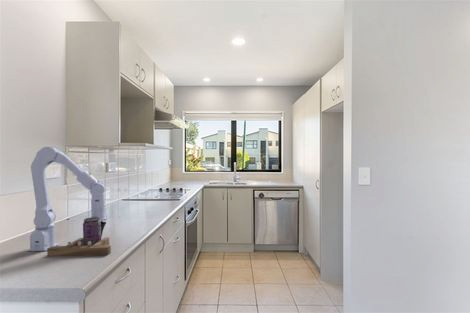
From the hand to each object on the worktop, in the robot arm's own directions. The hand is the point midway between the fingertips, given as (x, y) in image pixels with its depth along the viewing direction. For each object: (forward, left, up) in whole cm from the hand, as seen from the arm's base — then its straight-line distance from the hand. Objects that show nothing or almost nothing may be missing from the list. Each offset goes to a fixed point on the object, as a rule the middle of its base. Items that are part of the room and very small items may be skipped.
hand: (98, 238), depth 135 cm
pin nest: (-11, 0, -2) cm, 11 cm away
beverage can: (-6, 0, -2) cm, 6 cm away
